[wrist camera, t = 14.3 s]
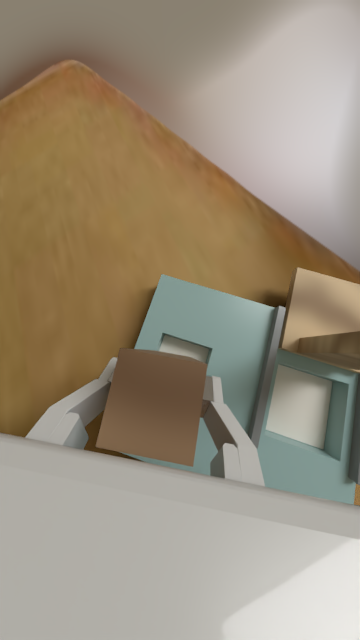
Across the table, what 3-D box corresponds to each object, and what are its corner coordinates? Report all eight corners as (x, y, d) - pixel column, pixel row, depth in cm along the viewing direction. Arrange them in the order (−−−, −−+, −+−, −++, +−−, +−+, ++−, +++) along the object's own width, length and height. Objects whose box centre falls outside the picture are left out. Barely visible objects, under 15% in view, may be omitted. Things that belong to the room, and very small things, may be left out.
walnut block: (184, 396, 14) (192, 467, 6) (146, 389, 14) (95, 446, 6) (190, 357, 15) (207, 364, 6) (154, 350, 15) (120, 348, 6)
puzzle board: (324, 510, 16) (360, 551, 13) (110, 431, 17) (94, 449, 14) (345, 337, 19) (378, 335, 16) (164, 283, 21) (160, 270, 18)
